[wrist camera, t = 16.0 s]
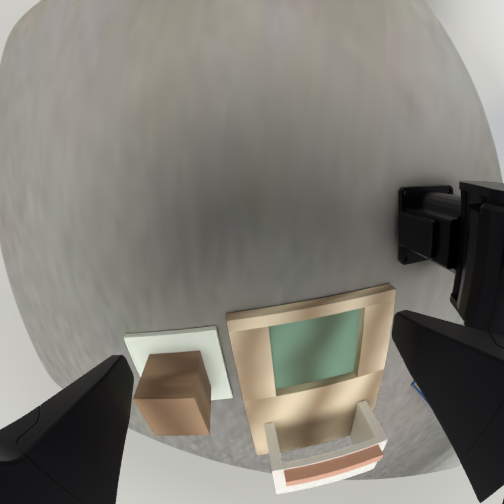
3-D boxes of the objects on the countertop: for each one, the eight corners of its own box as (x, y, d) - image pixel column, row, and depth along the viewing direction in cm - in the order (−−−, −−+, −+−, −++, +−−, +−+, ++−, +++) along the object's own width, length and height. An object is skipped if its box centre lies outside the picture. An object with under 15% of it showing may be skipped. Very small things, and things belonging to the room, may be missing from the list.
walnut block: (200, 350, 21) (194, 398, 15) (211, 387, 22) (209, 434, 17) (149, 353, 21) (133, 399, 15) (164, 390, 22) (155, 435, 17)
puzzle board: (388, 283, 21) (395, 289, 20) (364, 422, 27) (367, 429, 26) (226, 313, 21) (226, 321, 19) (256, 447, 26) (257, 455, 25)
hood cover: (365, 399, 24) (393, 449, 17) (357, 433, 26) (377, 477, 19) (264, 423, 23) (274, 483, 16) (269, 454, 25) (278, 504, 18)
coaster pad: (216, 325, 21) (215, 329, 20) (232, 393, 23) (232, 398, 23) (125, 333, 21) (123, 337, 20) (154, 398, 23) (153, 402, 22)
